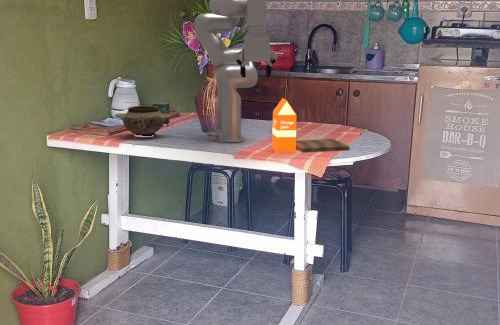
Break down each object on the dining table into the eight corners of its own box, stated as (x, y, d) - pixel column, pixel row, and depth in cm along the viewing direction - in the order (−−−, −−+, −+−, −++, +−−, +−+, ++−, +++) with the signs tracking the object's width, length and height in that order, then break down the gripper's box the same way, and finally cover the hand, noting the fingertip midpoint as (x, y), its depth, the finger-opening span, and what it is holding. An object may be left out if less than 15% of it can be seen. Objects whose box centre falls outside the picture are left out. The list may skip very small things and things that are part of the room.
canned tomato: (173, 125, 289) (172, 103, 287) (159, 127, 284) (158, 104, 281) (163, 123, 295) (163, 101, 292) (150, 125, 289) (149, 102, 287)
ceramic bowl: (174, 140, 267) (174, 106, 268) (169, 137, 250) (169, 101, 250) (119, 139, 267) (120, 106, 268) (110, 136, 250) (111, 101, 250)
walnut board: (302, 152, 231) (302, 148, 231) (288, 144, 246) (288, 140, 246) (349, 149, 237) (349, 146, 236) (333, 142, 252) (333, 138, 251)
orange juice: (290, 147, 240) (292, 97, 236) (295, 152, 232) (297, 100, 227) (271, 147, 239) (272, 98, 235) (276, 152, 231) (277, 100, 226)
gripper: (236, 30, 218) (236, 78, 221) (281, 31, 222) (280, 77, 226) (231, 30, 225) (231, 76, 228) (275, 31, 229) (274, 76, 233)
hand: (255, 77), depth 227 cm, fingers open, 9 cm apart
